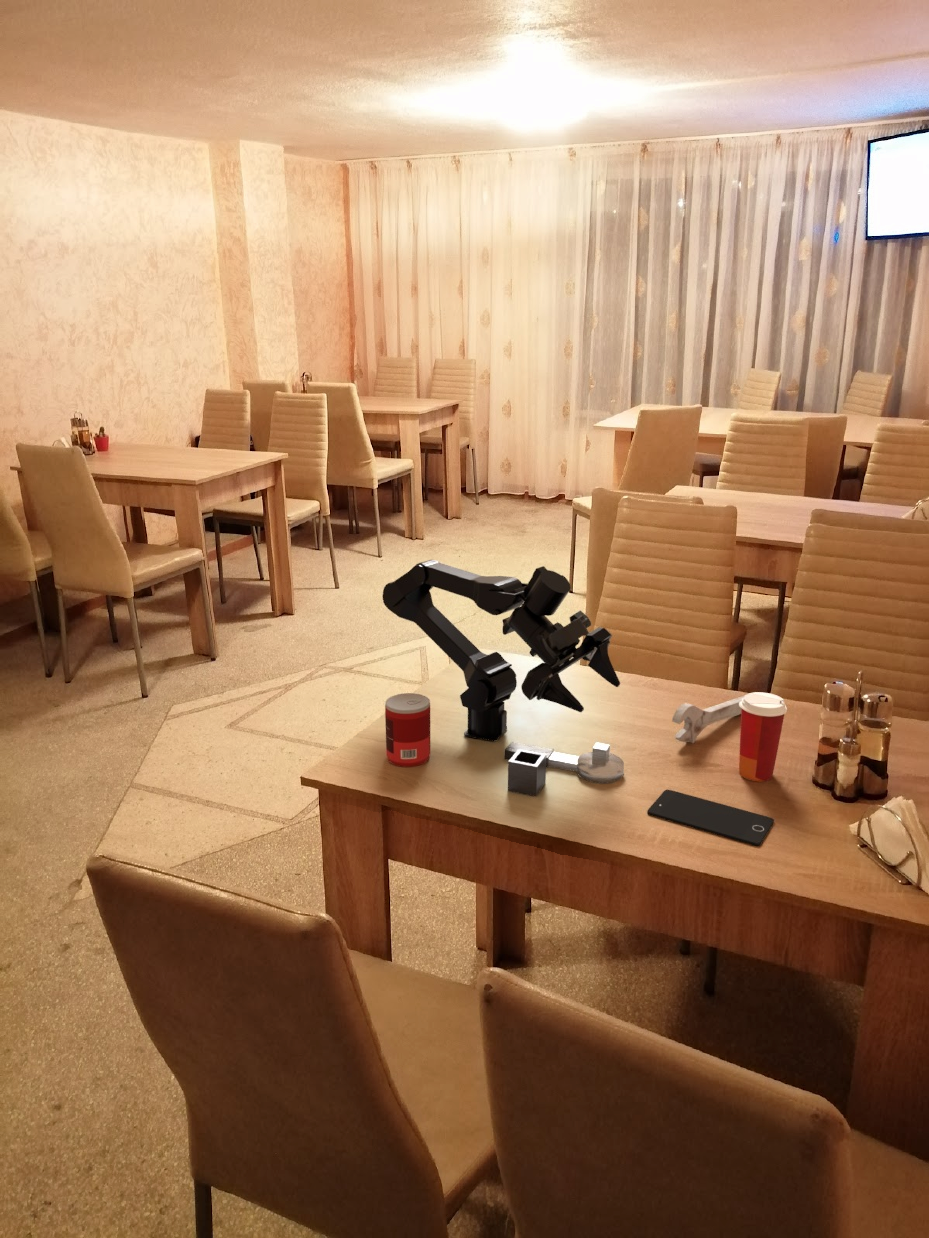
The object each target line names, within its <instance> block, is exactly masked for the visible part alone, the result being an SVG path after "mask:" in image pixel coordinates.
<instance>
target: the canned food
mask: <svg viewBox="0 0 929 1238" xmlns="http://www.w3.org/2000/svg"><path fill="white" fill-rule="evenodd" d="M430 700H431V699H430V698H429V697H427V696H426V695H423V694H420V693H416V692H415V693H414V692H413V693H412V692H407V693H398V694H394V695H392V696H390V697H388V698H387V699H386V700H385V703H384V704H385V706H384V707H385V708H384V713H385V715H384V716H385V717H384V718H385V722H384V723H385V751H386V753H385V754H386V757H387V760H388V762H389V763H390V764H392V765H394V766H397V767H402V768H403V767H404V768H411V767H412V768H413V767H416V766H420V765H421V766H422V765H423V764H425V763H426V762H427V761H428V760H429V759H430V756H431V701H430Z"/></svg>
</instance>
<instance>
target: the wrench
mask: <svg viewBox="0 0 929 1238" xmlns="http://www.w3.org/2000/svg"><path fill="white" fill-rule="evenodd" d="M744 696H745V695H742V696H739V697H735V698H734V699H733V698H732V699H730V700H727V701H725V702H722V703H719V704H716V705H713V706H710V707H706V708H703V709H702V708H699V707H698V706H696V705H693V704H691V703H689V702H684V703H682V704H680V705H679V706H678V707H677V709H676V710H675V712H674V713H673V716H672V721H671V722H673V723H675V724H679V725H681V724H682V723H683V722H684V724H683V728H681V729H680V730H679V731H677V733H676V734H675V735H674V737H675V740H677V741H679V742H683V743H686V742H688V743H691V744H695V742H696V739H697V738H698V737H699V735H700V734H701V732H703V730H704V729H705V728H707V727H708V726H710V725H713V724H715V723H718V722H722V721H724V720H728V719H730V718H733V717H736V716H739V715H741V709H742V708H741V707H740V706H739V702H741V700H742V698H743V697H744Z"/></svg>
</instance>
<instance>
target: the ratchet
mask: <svg viewBox="0 0 929 1238" xmlns="http://www.w3.org/2000/svg"><path fill="white" fill-rule="evenodd" d="M610 748H611V745H610V744H609V743H608V744H607V743H603V742H595V744H594V745H593V747H592V751H589V752H585V753H582V754H580V755H574V754H567V753H561V752H556V751H555V750H554V749H553V748H547V747H543V746H536V745H532V744H531V745H530V744H526V743H521V742H520V743H519V742H515V741H511V742H509V743H508V745H507V747H506V748H505V749H504V757H503V758H504V760H507V761H509V760H510V759H511V757H512V756H513V755H514V754H515V753H516V751H517V750H518V749H522V750H527V751H532V752H538V753H543V754H547V755H546V768H549V767H550V768H553V769H559V770H564V771H569V772H574V773H577V775H578V777H580V778H581V779H583V780H585V781H587V782H591V783H595V784H612V783H615V782H618V781H620V780H621V779H622V778H623V776H624V768H625V767H624V765H625V763H624V760H623V759H622V758H621V757H620V756H619V755H617V754H613V753H611V752H610Z"/></svg>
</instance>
